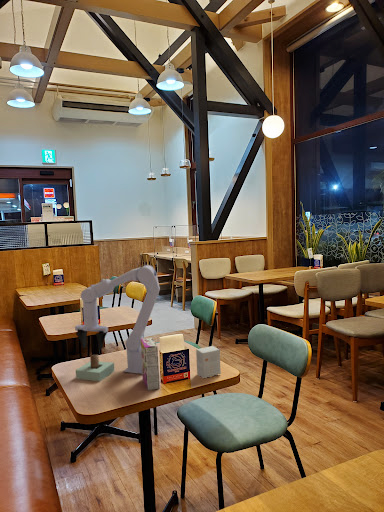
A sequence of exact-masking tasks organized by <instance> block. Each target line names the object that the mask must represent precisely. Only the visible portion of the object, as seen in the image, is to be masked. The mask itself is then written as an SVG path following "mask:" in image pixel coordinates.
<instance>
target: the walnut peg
mask: <svg viewBox="0 0 384 512" xmlns="http://www.w3.org/2000/svg"><path fill="white" fill-rule="evenodd" d="M89 359H90V361H91V368H93V369H98V368H99V361H100V359H99V354H92V355H90V357H89Z"/></svg>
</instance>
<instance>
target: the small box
mask: <svg viewBox="0 0 384 512" xmlns="http://www.w3.org/2000/svg"><path fill="white" fill-rule="evenodd" d="M195 354H196V375H197V374H198V375H197V376H199V377H200V376H201V377H200V378H202V379H203V378H206V379H208V378H207V377H210V378H212V377H211V376H214V375H218V374H221V355H220V354H221V349H220V348H217V347H216V346H214V345H211V346H206V347H200V348H197V349H196V351H195ZM218 376H219V375H218ZM214 377H215V376H214Z"/></svg>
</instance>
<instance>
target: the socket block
mask: <svg viewBox="0 0 384 512" xmlns="http://www.w3.org/2000/svg"><path fill="white" fill-rule="evenodd" d="M113 372H115V362H110V361H101V360H99V368H98V369H93V368H91V360H90V361H88V362H87V363H85V364H83V365H82V366H79V368H77V369H75V379H76V380H85V381H93V382H101V381H102V380H104V379H106V377H108V376H109V375H111V374H112V373H113Z"/></svg>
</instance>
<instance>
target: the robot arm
mask: <svg viewBox="0 0 384 512" xmlns="http://www.w3.org/2000/svg"><path fill="white" fill-rule="evenodd" d="M129 281H134V282H137V281H139V282H140V283H141V284H142V285H143V286H144V288H145V289H146V291H147V292H146V295H145V297H144V300H143V303H142V305H141V307H140V311H139V312H138V316H137V318H136V321H135V323H134V324H135V325H134V326H133V329H132V330H131V332H130V334H129V336H128V337H127V338H126V339H125V347H126V359H127V361H126V362H127V368H125V369H124V370H123V372H124V373H131V374H142V359H141V342H140V339H145V331H146V327H147V325H148V322H149V319H150V317H151V314H152V312H153V309H154V307H155V303H156V300H157V299H158V295H159V293H160V292H161V291H160V290H161V287H160V284H159V279H158V273H157V271H156V269H155V268H154V267H153V266H152V265H150V264H145V265H143V266H142V267H141V266H139V267H137V268H134V269H130V270H129V271H127V272H125V273H123V274H121V275H120V276H117V277H115V278H113V279H109V278H106V279H105V278H103V279H100V282H97V283H95V284H91V285H90V286H89V287H87V288H85V289H83V290H82V291H81V293H80V298H81V301H82V305H83V306H82V310H83V311H82V313H83V324H76V325H75V326H74V330H75V335H76V337H77V338H78V340H79V341H80V344H81V347H82V349H85V348H87V346H88V344H87V343H88V341H87V340H88V339H87V336H88V332H95V337H96V340H97V341H96V342H97V349H98V350H102V349H103V345H104V342H105V338H106V336H107V334H108V332H109V327H108V326H103V325H99V312H98V298H99V299H100V298H102V297H103V296H105V295H108V294H110V293H112V292H114V289H115V288H116V287H117V286H121V285H122V284H125V283H127V282H129ZM96 332H97V333H96Z"/></svg>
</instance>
